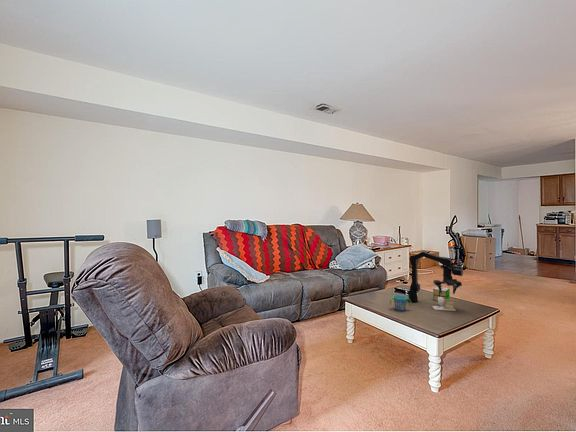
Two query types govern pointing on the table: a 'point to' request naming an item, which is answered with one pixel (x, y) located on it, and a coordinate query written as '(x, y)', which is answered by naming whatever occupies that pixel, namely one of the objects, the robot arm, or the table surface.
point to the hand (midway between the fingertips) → (447, 293)
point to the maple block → (448, 303)
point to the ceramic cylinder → (440, 301)
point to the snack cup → (400, 302)
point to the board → (442, 308)
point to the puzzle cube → (444, 293)
